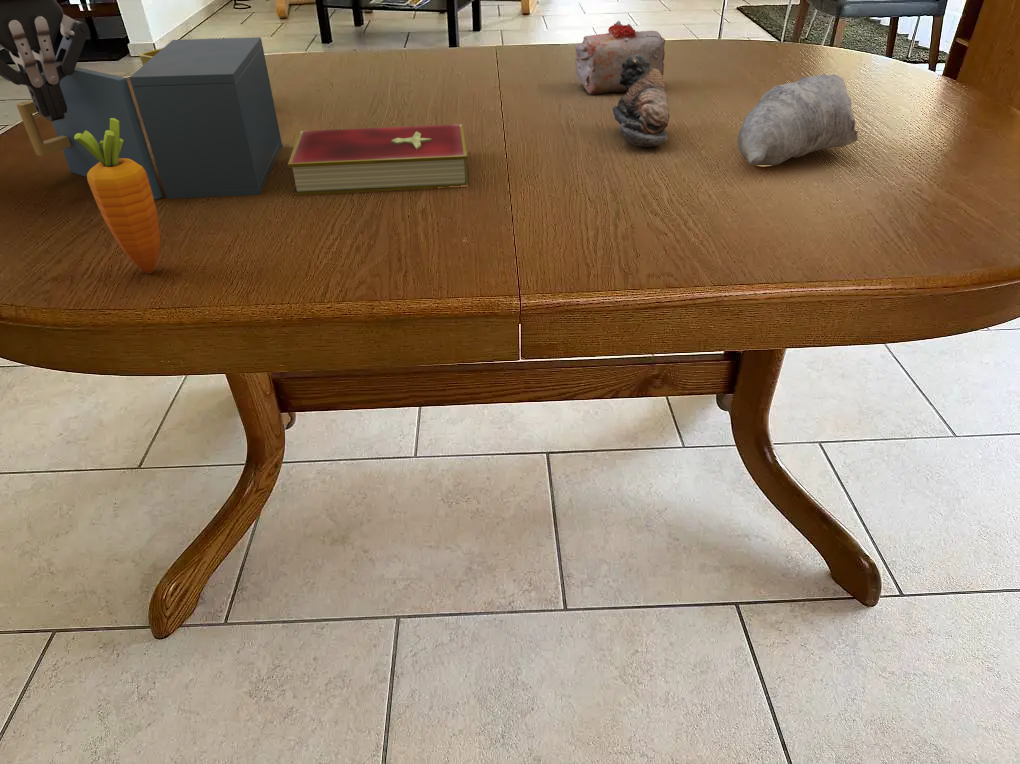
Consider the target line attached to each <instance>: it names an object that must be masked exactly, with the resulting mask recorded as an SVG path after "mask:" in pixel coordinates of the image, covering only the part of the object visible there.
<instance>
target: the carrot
mask: <svg viewBox="0 0 1020 764" xmlns="http://www.w3.org/2000/svg"><path fill="white" fill-rule="evenodd" d="M74 139H75V140H76V141H77V142H79V143H80V144H81V145H83V146H84V147H85V148H86V149H87V150H88V151H89V152H90V153H91V154H92V155H94V156H95V157H96V158H97V159H98V160H99V161H100V162H99V163H97V164H96V165H95V166H94V167H92V168H91V169H90V170H89V172H88V173H87V177H86V179H87V183H88V185H89V188H90V190H91V193H92V196H93V198H94V200H95V201H94V202H95V203H96V205H97V208H98V209H99V211H100V212H99V213H100V214H101V216H102V219H103V221H104V223H105V224H106V227H107V229H108V230H109V231H110V233H111V235H112V236H113V238H114V240H115V241H116V243H117V244H118V246H119V247H120V249H121V250H122V251H123V253H125V255H126V257H128V258H129V260H130V261H131V262H132V263H134V264H135V265H136V266H137V267H138V268H139V269H140V270H141V271H142V272H143V273H146V274H148V275H151V274H153V273H154V271H155V270H156V268H157V264H158V261H159V255H160V249H161V248H160V247H161V246H160V245H161V237H160V236H161V235H160V225H159V217H158V210H157V206H156V203H155V199H154V198H153V194H152V191H151V187H150V184H149V180H148V177H147V174H146V172H145V170H144V168H143V167H142V166H141V165H139V164H138V163H136V162H134V161H133V160H131V159H128V158H119V154H120V151H121V148H122V145H123V141H124V140H122V139H120V125H119V121H118V120H117V119H115V118H110V130H107V131H105V135H104V141H102V140H101V142H100V145H101V147H102V149H103V150H102V149H101V147H100V145H99V144H98V142H97V141H96V139H95V138H94V137H93V136H92V135H91V134H90V133H89V132H88V131H86V130H85V131H84V133H83V134H81V133H77V134H75V136H74ZM103 151H104V152H103Z"/></svg>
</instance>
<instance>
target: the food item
mask: <svg viewBox="0 0 1020 764" xmlns="http://www.w3.org/2000/svg"><path fill="white" fill-rule="evenodd" d="M665 45H666V38H664V37H662V35H661V33H659V31H657V30H641V31H640V30H639V31H638V30H637V31H636V29H634V27H633V26H632V25H631V24H630V23H628V24H625V25H624V24H621V21H620V20H617V21H616V22H615V23H613V25H611V26H609V27H608V29H607V32H606V33H600V34H591V35H585V36H583V40H582V42H581V43H578V44H577V45H576V46H575V47H574V48H575V75H576V77H577V79H578V82H579V83H580V85H582V86H583V88H584V89H585V90H586V92H587V93H588V94H589V95H599V94H610V93H621V92H626V86H624V85H620V84H619V82H620V78H621V77H622V76H621V75H620V72H621V70H622V63H623V62H626V61H627V58H628V57H629V56H630V55H631V52H632V53H633V54H642V55H644V56H645V57H646V58H647V59H648V60H649V62H650V65H651V68H655V69H658V70H659V71H660V73H661V75H662V76H663V77H664V69H665V63H664V61H665V57H666V56H665V54H666V52H665Z"/></svg>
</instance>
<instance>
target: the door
mask: <svg viewBox="0 0 1020 764" xmlns="http://www.w3.org/2000/svg"><path fill="white" fill-rule="evenodd" d="M60 88H61V91H62V93H63V96H64V99H65V103H66V105H67V113H64V116H65V119H60V120H56V121H51V123H52V126H53V128H54V131H55V134H56V137H52V138H49V139H46V140H43V138H42V136H41V133H40V130H39V127H38V125H37V122H36V120H35V118H34V115H33V114H37V113H38V112H37V111H36V109H35V106H34V103H33V100H32V99H29V100H24V101H21V102H18V103H16V108H17V110H18V113H19V115H20V117H21V121H22V123H23V125H24V128H25V130H26V132H27V135H28V138H29V140H30V143H31V146H32V147H33V150H34V152H35V155H36V156H37V157H43V156H46V155H50V154H52V153H53V154H54V153H56V152H59V151H62V152H63V154H64V158H65V160H66V163H67V166H68V168H69V170H70V172H71V173H73V174H76V175H78V176H82V177H84V178H87V173H88V172H89V170H90V169H91V168H92V167H94V166H95V165H96V164H97V163H99V162H100V161H99V160H98V159H97V158H96V157H95V156H94V155H92V154H91V153H90V152H89V151H88V150H87V149H86V148H85V147H84V146H83V145H81V144H80V143H79V142H77V141H76V140H75V139H74V136H75V134H77V133H81V134H83V133H84V131H85V130H86V131H88V132H89V133H90V134H91V135H92V136H93V137H94V138H95V139H96V141H97V142H98V144H99V145H100V142H101V140H102V141H104V135H105V131H107V130H110V118H115V119H117V120H118V121H119V125H120V139H122V140H124V141H123V145H122V148H121V151H120V154H119V158H128V159H131V160H133V161H134V162H136V163H138V164H139V165H141V166H142V167H143V168H144V170H145V172H146V174H147V177H148V180H149V184H150V187H151V191H152V194H153V198H154V201H155V200H159V199H161V198H163V197H164V195H163V192H162V189H161V186H160V183H159V180H158V176H157V172H156V170H155V167H154V163H153V160H152V157H151V154H150V150H149V147H148V144H147V141H146V137H145V133H144V130H143V128H142V124H141V121H140V118H139V115H138V112H137V109H136V106H135V103H134V99H133V96H132V92H131V89H130V86H129V83H128V80H127V78H126V77H124V76H119V75H114V74H110V73H106V72H100V71H96V70H92V69H87V68H84V67H83V68H82V67H79V66H76V67H75V69H74V72H73V74H72V75H67V76H65V77H64V78H62V79H61V80H60ZM100 147H101V145H100ZM101 149H102V147H101ZM102 150H103V149H102ZM103 152H104V151H103Z"/></svg>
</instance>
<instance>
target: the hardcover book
mask: <svg viewBox="0 0 1020 764" xmlns="http://www.w3.org/2000/svg"><path fill="white" fill-rule="evenodd" d="M466 160H468V153H467V145H466V138H465V131H464V124H463V123H459V124H438V125H437V124H435V125H415V126H414V125H413V126H412V125H411V126H390V127H368V128H365V127H364V128H343V129H320V130H299V133H298V136H297V138H296V141H295V144H294V146H293V149H292V151H291V154H290V157H289V160H288V162H287V167H288V168H292V173H293V178H294V183H295V187H294V189H293V193H292V195H293V196H310V195H311V196H312V195H313V196H314V195H328V194H329V195H332V194H335V195H336V194H353V193H356V194H357V193H373V192H374V193H376V192H378V193H379V192H393V191H392V190H399V191H409V190H408V189H420V190H425V189H424V188H438V187H449V186H461V185H469V178H468V171H467V170H468V169H467V163H466Z"/></svg>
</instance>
